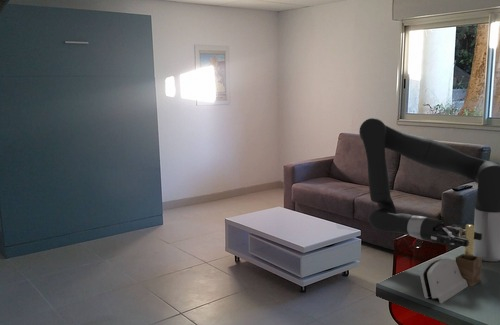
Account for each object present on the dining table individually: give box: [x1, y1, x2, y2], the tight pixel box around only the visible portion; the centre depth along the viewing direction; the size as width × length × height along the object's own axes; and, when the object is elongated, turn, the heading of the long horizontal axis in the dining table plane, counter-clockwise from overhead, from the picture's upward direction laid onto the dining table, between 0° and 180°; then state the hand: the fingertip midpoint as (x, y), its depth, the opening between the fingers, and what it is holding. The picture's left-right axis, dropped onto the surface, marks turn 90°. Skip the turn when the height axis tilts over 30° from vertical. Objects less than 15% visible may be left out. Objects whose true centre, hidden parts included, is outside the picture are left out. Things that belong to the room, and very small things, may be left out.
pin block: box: [454, 253, 483, 287], centre depth 140 cm, size 5×5×8 cm
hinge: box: [419, 258, 469, 304], centre depth 134 cm, size 17×5×10 cm, turn 130°
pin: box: [463, 224, 475, 261], centre depth 139 cm, size 2×2×15 cm
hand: (474, 240), depth 137 cm, fingers open, 8 cm apart
